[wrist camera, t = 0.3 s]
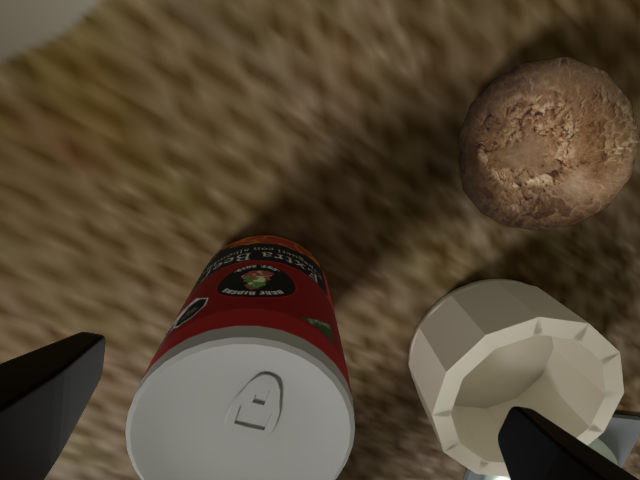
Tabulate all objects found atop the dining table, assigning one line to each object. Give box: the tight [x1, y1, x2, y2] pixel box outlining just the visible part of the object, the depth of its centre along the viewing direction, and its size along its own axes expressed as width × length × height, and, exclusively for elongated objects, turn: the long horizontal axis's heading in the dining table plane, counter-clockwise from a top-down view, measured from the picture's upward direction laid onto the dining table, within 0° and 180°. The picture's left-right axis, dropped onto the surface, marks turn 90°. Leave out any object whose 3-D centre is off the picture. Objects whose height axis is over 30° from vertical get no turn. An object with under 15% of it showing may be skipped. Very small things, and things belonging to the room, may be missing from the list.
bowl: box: [408, 278, 624, 477], centre depth 23 cm, size 10×10×5 cm
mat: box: [463, 414, 640, 480], centre depth 29 cm, size 12×12×1 cm
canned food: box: [125, 235, 355, 480], centre depth 18 cm, size 8×8×11 cm
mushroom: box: [459, 56, 640, 230], centre depth 19 cm, size 8×8×6 cm
